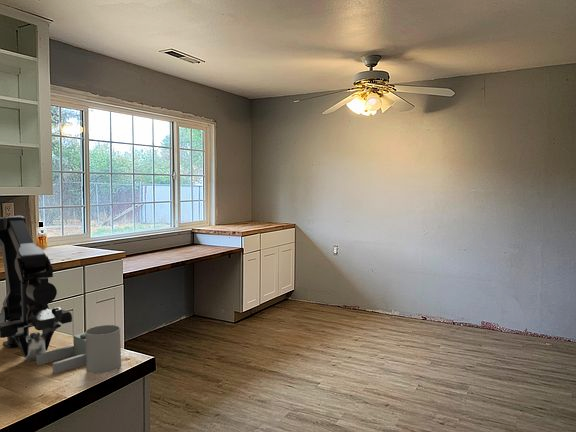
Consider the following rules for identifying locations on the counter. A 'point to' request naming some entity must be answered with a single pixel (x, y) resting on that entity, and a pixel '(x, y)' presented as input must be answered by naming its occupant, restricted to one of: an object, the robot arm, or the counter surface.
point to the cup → (103, 349)
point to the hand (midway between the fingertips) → (35, 353)
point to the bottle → (35, 345)
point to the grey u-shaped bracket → (66, 355)
